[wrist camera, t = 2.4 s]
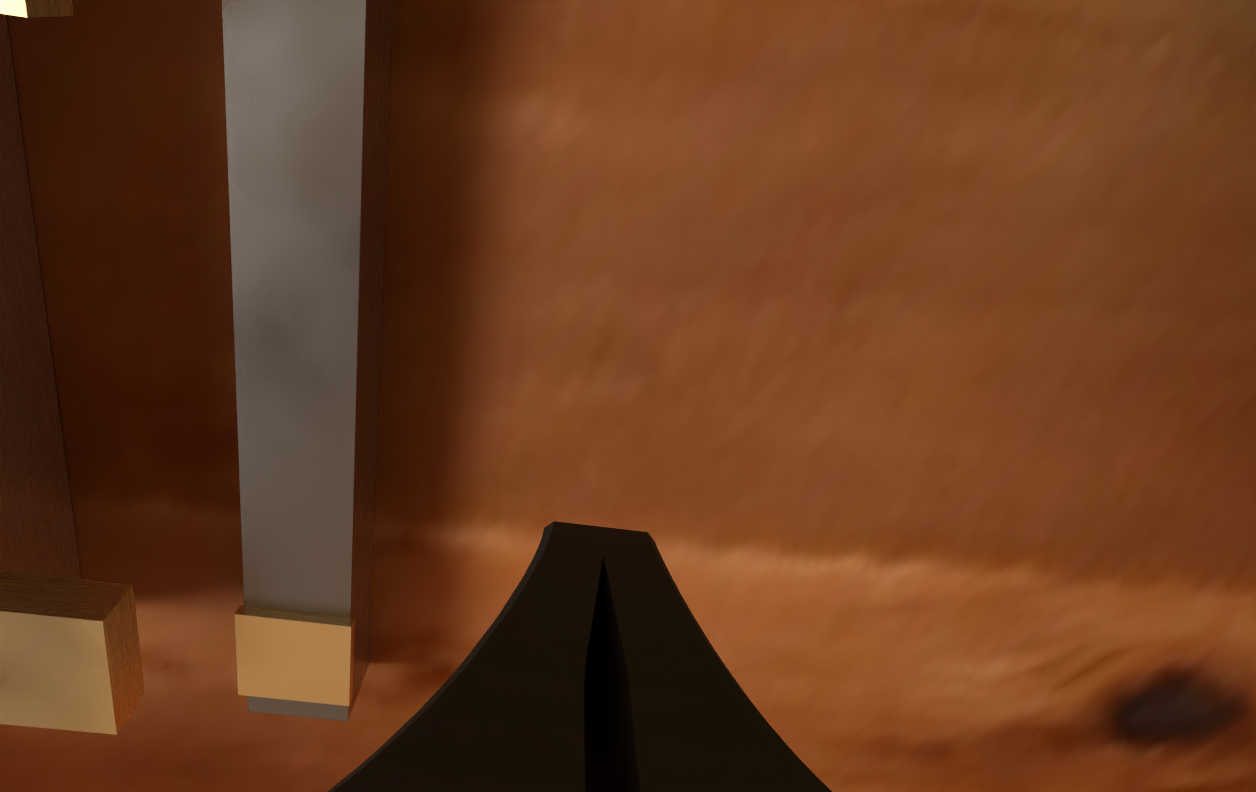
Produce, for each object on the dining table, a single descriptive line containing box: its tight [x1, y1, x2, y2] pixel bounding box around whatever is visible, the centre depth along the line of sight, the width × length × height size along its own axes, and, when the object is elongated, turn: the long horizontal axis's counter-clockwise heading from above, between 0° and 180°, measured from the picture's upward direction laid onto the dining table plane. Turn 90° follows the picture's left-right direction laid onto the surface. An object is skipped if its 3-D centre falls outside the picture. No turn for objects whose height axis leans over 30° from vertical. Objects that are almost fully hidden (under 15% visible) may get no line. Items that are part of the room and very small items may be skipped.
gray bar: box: [222, 0, 394, 721], centre depth 18 cm, size 20×3×3 cm, turn 171°
